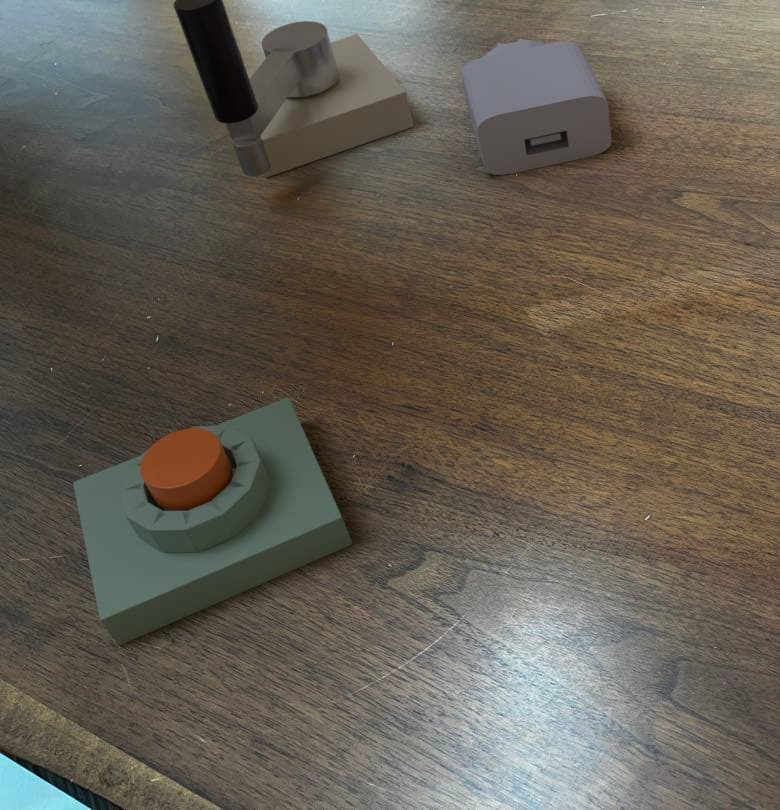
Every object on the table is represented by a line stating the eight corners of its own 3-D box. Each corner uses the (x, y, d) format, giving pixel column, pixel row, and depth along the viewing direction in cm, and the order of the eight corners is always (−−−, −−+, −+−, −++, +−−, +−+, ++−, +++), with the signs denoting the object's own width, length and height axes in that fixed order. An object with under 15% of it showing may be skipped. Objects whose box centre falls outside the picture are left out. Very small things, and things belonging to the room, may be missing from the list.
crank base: (265, 178, 81) (253, 143, 79) (229, 112, 89) (217, 78, 87) (414, 126, 84) (406, 91, 82) (365, 67, 92) (357, 33, 90)
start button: (160, 523, 52) (147, 500, 51) (146, 470, 55) (133, 447, 54) (240, 491, 53) (228, 467, 52) (222, 440, 56) (211, 416, 55)
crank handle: (292, 75, 87) (243, -84, 78) (350, 74, 86) (307, -88, 77) (216, 180, 77) (150, 11, 68) (281, 181, 76) (222, 8, 67)
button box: (118, 646, 52) (83, 597, 49) (89, 508, 59) (57, 458, 56) (353, 544, 55) (332, 493, 52) (299, 423, 61) (279, 372, 59)
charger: (569, 59, 88) (612, 152, 78) (459, 82, 88) (486, 179, 77) (563, 3, 85) (607, 92, 74) (448, 26, 85) (475, 120, 74)
